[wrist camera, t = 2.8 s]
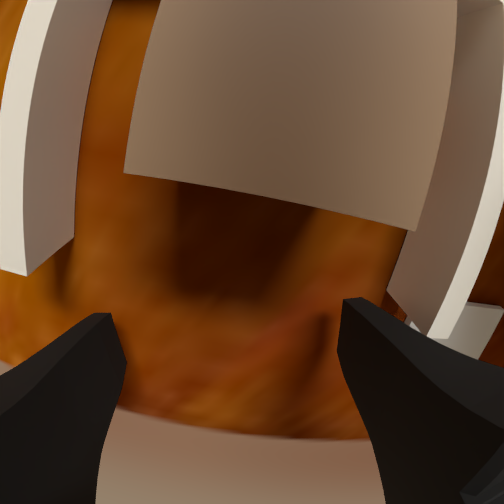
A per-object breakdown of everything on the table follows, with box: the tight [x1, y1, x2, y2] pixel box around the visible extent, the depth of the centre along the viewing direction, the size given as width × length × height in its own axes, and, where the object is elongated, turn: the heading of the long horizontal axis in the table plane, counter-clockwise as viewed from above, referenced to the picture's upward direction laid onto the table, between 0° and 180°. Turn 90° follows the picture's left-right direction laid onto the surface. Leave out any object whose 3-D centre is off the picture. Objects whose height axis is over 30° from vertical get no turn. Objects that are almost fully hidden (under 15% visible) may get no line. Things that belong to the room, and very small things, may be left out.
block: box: [124, 0, 457, 232], centre depth 6 cm, size 4×4×5 cm
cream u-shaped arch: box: [0, 0, 504, 339], centre depth 7 cm, size 13×12×3 cm
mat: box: [404, 302, 504, 360], centre depth 12 cm, size 6×6×1 cm
